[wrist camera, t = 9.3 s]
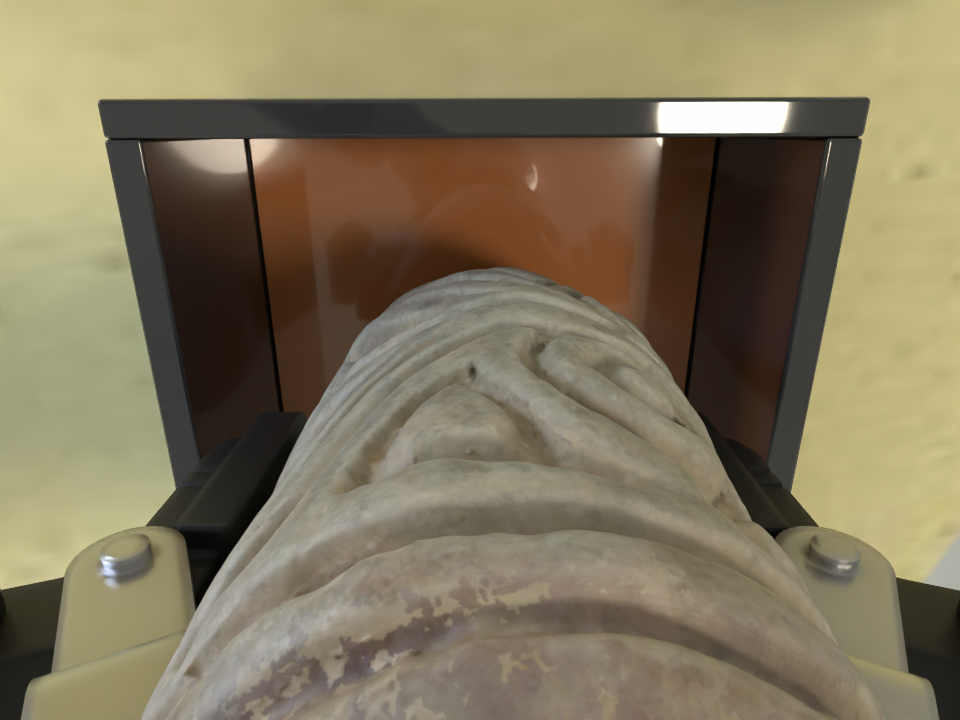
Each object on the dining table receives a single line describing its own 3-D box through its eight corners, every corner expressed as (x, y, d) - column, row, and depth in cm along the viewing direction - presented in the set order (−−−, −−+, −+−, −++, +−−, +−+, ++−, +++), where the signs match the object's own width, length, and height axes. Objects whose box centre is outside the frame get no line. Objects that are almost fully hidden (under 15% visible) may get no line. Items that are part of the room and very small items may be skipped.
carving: (666, 275, 14) (1413, 864, 3) (549, 537, 17) (702, 1397, 5) (396, 184, 13) (-20, 503, 2) (317, 473, 16) (-64, 1317, 5)
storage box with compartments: (229, 108, 15) (94, 99, 10) (735, 107, 15) (873, 96, 10) (321, 789, 23) (275, 981, 18) (644, 788, 23) (692, 980, 18)
